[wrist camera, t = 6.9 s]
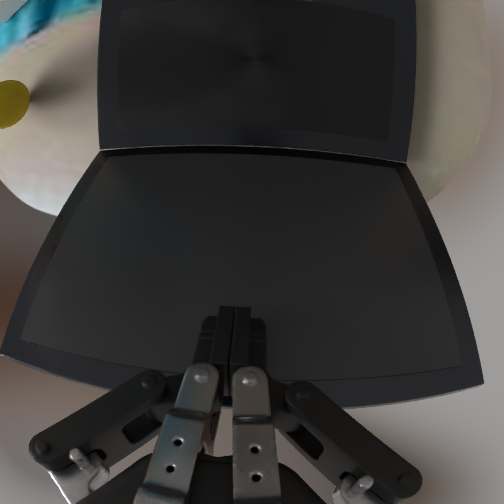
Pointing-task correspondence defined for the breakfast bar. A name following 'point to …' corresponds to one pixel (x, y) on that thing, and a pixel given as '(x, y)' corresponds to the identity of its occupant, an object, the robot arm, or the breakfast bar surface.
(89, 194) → the laptop screen
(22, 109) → the lemon
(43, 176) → the breakfast bar surface
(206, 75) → the laptop
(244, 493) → the robot arm
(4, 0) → the milk
